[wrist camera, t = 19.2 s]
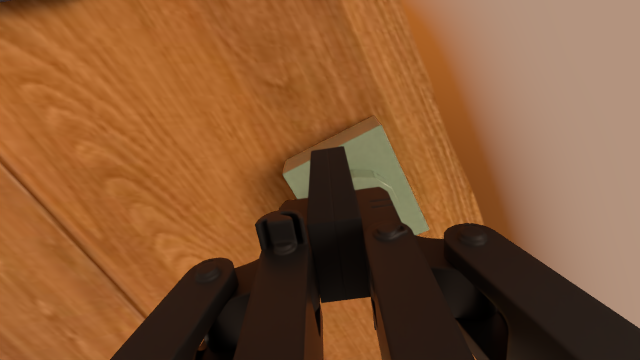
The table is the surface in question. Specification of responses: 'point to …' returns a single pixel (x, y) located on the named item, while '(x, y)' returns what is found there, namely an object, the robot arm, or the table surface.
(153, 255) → the table surface
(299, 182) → the green button box
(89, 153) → the table surface
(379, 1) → the table surface
